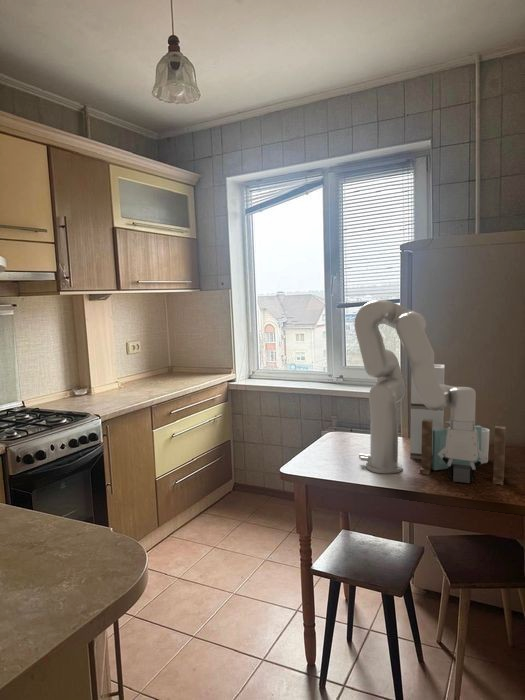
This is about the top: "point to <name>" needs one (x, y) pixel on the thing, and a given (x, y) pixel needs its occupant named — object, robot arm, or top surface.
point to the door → (439, 444)
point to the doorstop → (461, 473)
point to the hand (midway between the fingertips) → (461, 478)
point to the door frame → (498, 451)
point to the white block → (423, 415)
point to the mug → (485, 442)
